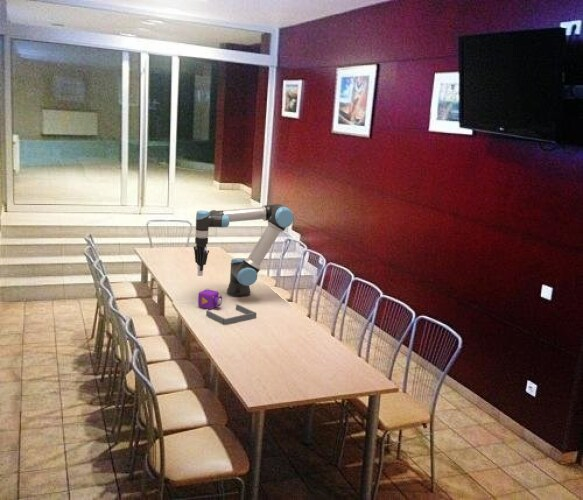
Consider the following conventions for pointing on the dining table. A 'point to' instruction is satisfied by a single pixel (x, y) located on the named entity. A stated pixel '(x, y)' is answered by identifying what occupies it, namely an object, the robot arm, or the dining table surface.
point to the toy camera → (209, 299)
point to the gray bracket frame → (247, 316)
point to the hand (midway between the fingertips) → (200, 275)
